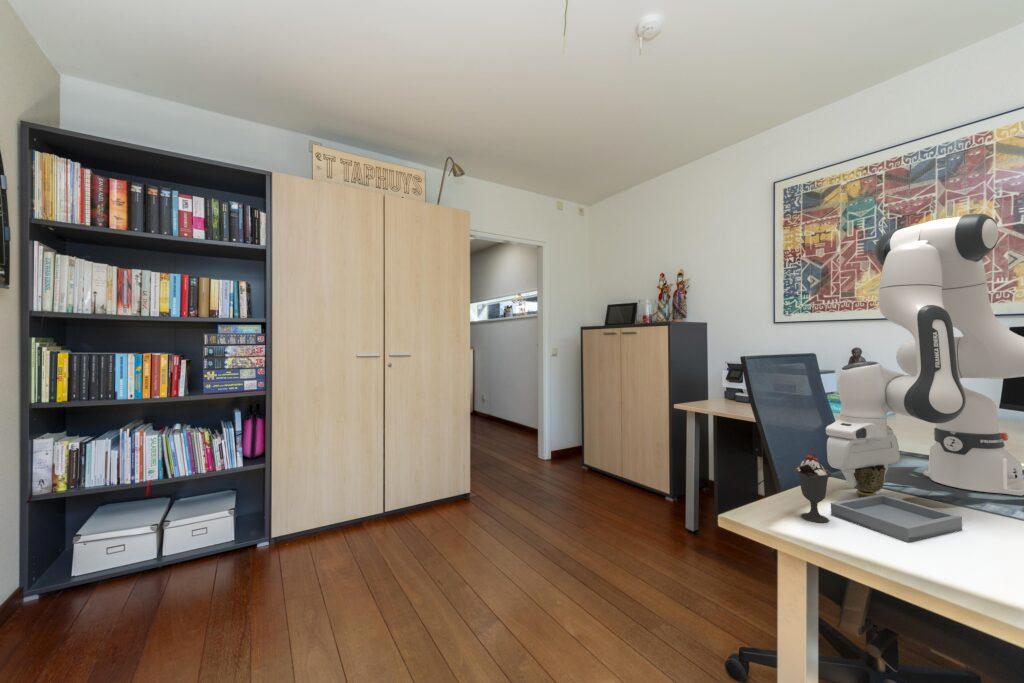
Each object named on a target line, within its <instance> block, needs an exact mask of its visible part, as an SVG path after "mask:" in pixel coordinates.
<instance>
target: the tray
mask: <svg viewBox="0 0 1024 683" xmlns="http://www.w3.org/2000/svg"><path fill="white" fill-rule="evenodd" d="M830 515H831V516H833V517H835V518H836V517H837V518H839V519H842V520H844V521H847V522H850V523H852V522H853V523H852V524H855V523H856V525H858V524H859V525H858V526H860V527H863V528H867V529H869V530H872V531H874V532H877V531H878V533H880V532H881V533H880V534H883V533H884V535H886V534H887V535H886V536H889V535H890V536H889V537H891V536H892V537H891V538H894V537H895V539H898V540H901V541H903V542H905V541H906V543H908V544H909V543H914V542H917V541H920V540H925V539H930V538H933V537H938V536H943V535H947V534H951V533H955V531H956V532H960V531H963V520H962V519H963V517H962V516H960V515H956V514H953V513H949V512H946V511H942V510H938V509H934V508H931V507H928V506H924V505H920V504H918V503H913V502H911V501H907V500H903V499H899V498H895V497H891V496H889V495H885V494H881V493H880V494H876V495H873V496H868V497H856V498H851V499H846V500H841V501H835V502H830Z"/></svg>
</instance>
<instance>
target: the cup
mask: <svg viewBox="0 0 1024 683" xmlns="http://www.w3.org/2000/svg"><path fill="white" fill-rule="evenodd" d="M853 474H854V477H855V479H858V486H857V487H853V488H854V489H856V494H857V496H859V498H862V497H868V496H873V495H877V494H876V493H877V492H879V491H881V490H882V488H883V487H884V483H885V482H884V475H885V476H886V474H885V468H884V465H881V466H880V465H878V466H871V467H864V468H858V469H855V473H853Z"/></svg>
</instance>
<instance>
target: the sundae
mask: <svg viewBox="0 0 1024 683" xmlns="http://www.w3.org/2000/svg"><path fill="white" fill-rule="evenodd" d="M810 449H811V452H810V454H809V455H806V458H804V459H803V460H802V461H801V463H800V465H799V466H797V468H794V469H793V470H794V472H796V474H797V475H798V479H799V485H800V490H801V494H802V496H803V497H804V498H805V499H806V500H807V501H809V503H810V509H809V510H810V511H809V512H804V513H803V512H802V513H801V514H800V517H801V518H802V519H804V520H806V521H808V520H809V521H808V522H813V523H819V524H825V523H828V522H830V520H829V518H828V517H826V516H824V515H821V514H820V513H819V509H818V504H819V503H820V502H822V501H824V499H826V494H827V489H828V488H827V487H828V480H829V478H831V477H833V474H832V472H831V471H829V470H828V469H825V467H824V466H823V465H822V464H820V462H819V460H818V458H816V454H815V452H814V446H813V447H811V446H810ZM812 454H813V456H812Z"/></svg>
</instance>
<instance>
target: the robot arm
mask: <svg viewBox="0 0 1024 683" xmlns="http://www.w3.org/2000/svg"><path fill="white" fill-rule="evenodd" d="M999 233H1000V232H999V228H998V224H997V222H996V221H995V219H994V218H993V217H991V216H990V215H987V214H986V213H970V214H968V213H967V214H964V215H961V216H953V217H946V218H939V219H932V220H928V221H927V222H922V223H918V224H914V225H911V226H906V227H903V228H896V229H892V230H890V231H887V232H886V233H884V234H882V235H881V236H880V237H879V239H878V240H877V242H876V243H875V247H874V252H875V253H874V254H875V258H876V261H877V262H878V263H879V264H880V265H881V266H882V269H881V274H880V280H879V288H878V306H879V311H880V313H881V315H882V316H883V317H884V318H885V319H887V320H888V321H889V322H891V323H893V324H894V325H897V326H900V327H902V328H904V329H905V330H907V331H908V332H909V333H910V335H911V336H912V337H913V340H908V341H905V342H903V343H902V344H901V345H900V347H899V348H898V349H897V351H896V354H895V355H896V358H895V359H896V363H897V365H898V367H899V368H900V369H901V370H902V371H903V372H904V373H905V374H904V373H900V372H897V371H894V370H892V369H889V368H888V367H885V366H883V365H882V364H881V363H880V362H877V361H859V362H853V363H852V362H851V363H849V364H846V365H844V366H842V367H841V369H840V372H839V377H838V399H839V401H840V405H841V407H840V410H839V418H838V419H836V421H833V423H831V424H828V425H827V426H826V427H825V434H826V435H827V436H829V437H828V438H827V441H826V454H827V455H826V456H827V463H828V464H829V466H830V467H831V468H833V469H838V470H841V473H842V474H843V476H844V477H845V484H846V486H848V487H850V488H854V487H857V486H858V479H855V477H854V474H853V473H855V469H858V468H864V467H871V466H878V465H880V466H881V465H884V468H885V475H884V483H885V482H886V475H887V472H888V469H889V465H890V464H891V465H892V464H897V463H899V461H900V458H901V453H900V447H899V440H898V438H897V436H896V434H894V429H892V428H891V427H890V425H888V422H887V421H888V418H887V414H888V413H889V412H890V413H892V414H899V415H902V416H905V417H911V418H915V419H918V420H920V421H924V422H927V423H930V424H935V425H936V426H935V428H934V429H933V430H934V431H933V435H934V441H935V443H934V444H933V445H931V446H930V447H929V454H928V455H929V456H928V470H923V476H925V477H928V478H929V479H930V480H931V481H933V482H935V483H939V484H940V485H945V486H948V487H953V488H957V489H962V490H968V491H974V492H975V491H976V492H984V493H994V494H1006V495H1013V496H1024V476H1023V475H1024V473H1023V466H1022V462H1021V461H1020V460H1019V459H1018V458H1016V457H1015V456H1014V455H1013V454H1011V453H1010V452H1009V451H1008V450H1007V449H1005V442H1006V441H1008V440H1009V434H1008V433H1007V432H999V420H998V418H999V417H998V406H997V404H996V402H995V401H994V400H993V399H991V398H990V397H989V396H987V395H985V394H982V393H980V392H977V391H975V390H971V389H969V388H966V387H965V386H964V385H963V384H962V382H961V380H960V379H991V380H992V379H995V380H998V379H999V380H1001V379H1003V380H1004V379H1012V378H1013V379H1014V378H1022V377H1024V336H1022V335H1019V334H1018V333H1016V332H1013V331H1012V330H1010V329H1009V328H1007V327H1006V326H1004V325H1003V323H1001V322H1000V321H999V319H997V317H996V316H995V314H994V311H993V310H992V305H991V301H990V296H989V290H988V289H989V288H988V281H987V280H988V279H987V274H986V269H985V264H984V262H983V257H985V256H986V257H987V256H988V254H990V253H991V252H992V251H993V250H994V249H995V248H996V246H997V244H998V241H999ZM954 328H955V329H957V330H958V331H959V332H960V333H961V335H962V336H955V334H954V333H955V332H954ZM1004 441H1005V442H1004Z"/></svg>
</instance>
